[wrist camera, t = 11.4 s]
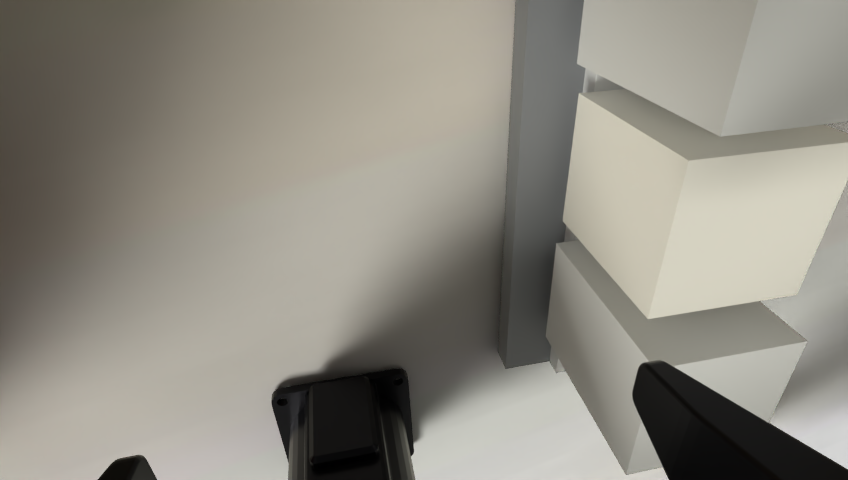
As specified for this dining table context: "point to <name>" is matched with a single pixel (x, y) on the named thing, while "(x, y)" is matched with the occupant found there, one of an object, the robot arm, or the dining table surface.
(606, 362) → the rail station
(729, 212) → the block
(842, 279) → the dining table surface
